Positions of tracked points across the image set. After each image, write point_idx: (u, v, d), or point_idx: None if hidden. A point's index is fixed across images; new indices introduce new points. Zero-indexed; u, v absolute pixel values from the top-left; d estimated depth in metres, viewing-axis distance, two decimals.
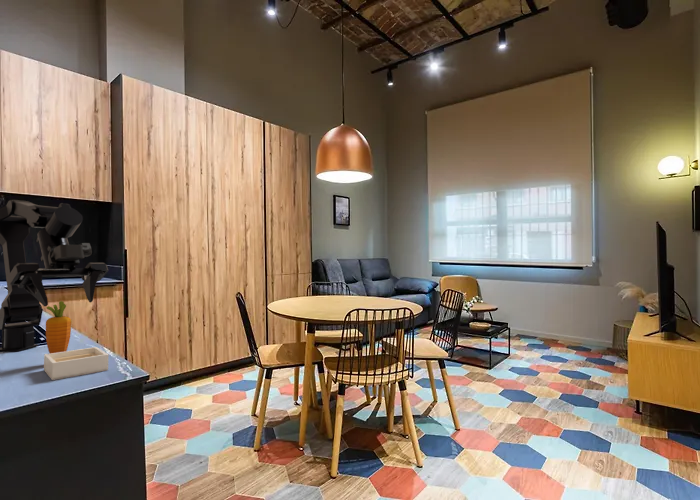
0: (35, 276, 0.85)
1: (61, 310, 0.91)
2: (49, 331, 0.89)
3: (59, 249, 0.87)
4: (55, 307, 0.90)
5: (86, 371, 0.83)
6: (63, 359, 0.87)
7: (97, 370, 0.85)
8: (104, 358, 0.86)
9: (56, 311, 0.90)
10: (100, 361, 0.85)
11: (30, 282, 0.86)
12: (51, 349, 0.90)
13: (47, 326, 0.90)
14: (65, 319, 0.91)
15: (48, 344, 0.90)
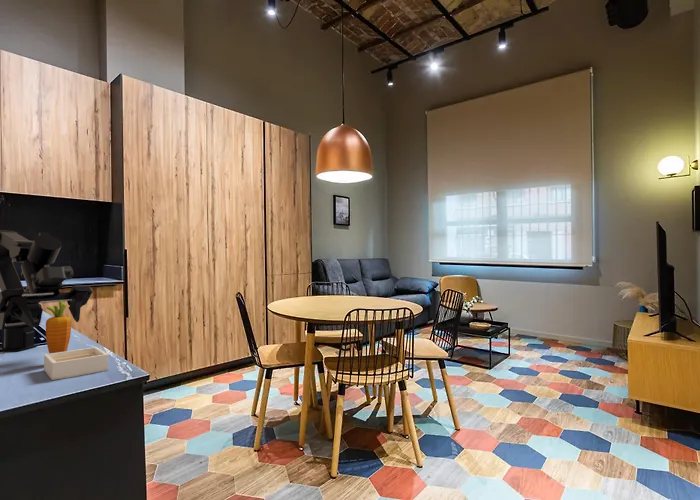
0: (20, 300, 0.89)
1: (61, 310, 0.91)
2: (49, 331, 0.89)
3: (41, 272, 0.92)
4: (55, 307, 0.90)
5: (86, 371, 0.83)
6: (63, 359, 0.87)
7: (97, 370, 0.85)
8: (104, 358, 0.86)
9: (56, 311, 0.90)
10: (100, 361, 0.85)
11: (16, 307, 0.90)
12: (51, 349, 0.90)
13: (47, 326, 0.90)
14: (65, 319, 0.91)
15: (48, 344, 0.90)
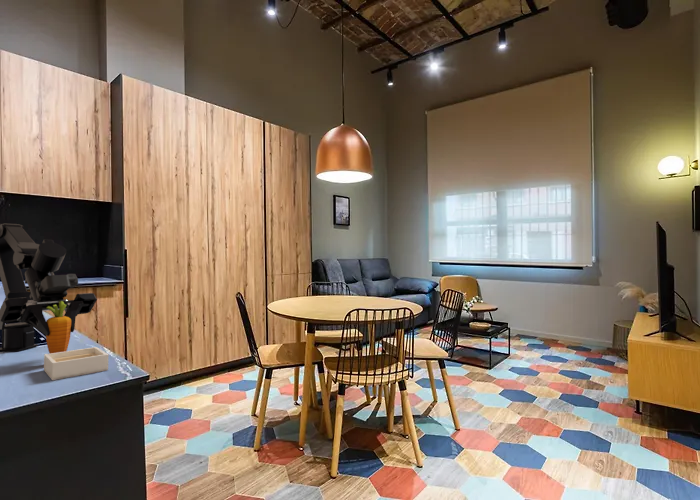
0: (35, 308, 0.89)
1: (61, 310, 0.92)
2: None
3: (45, 281, 0.91)
4: (55, 307, 0.90)
5: (86, 371, 0.83)
6: (63, 359, 0.87)
7: (97, 370, 0.85)
8: (104, 358, 0.86)
9: (56, 311, 0.90)
10: (100, 361, 0.85)
11: (31, 315, 0.90)
12: (51, 349, 0.90)
13: None
14: (65, 319, 0.91)
15: (48, 344, 0.90)
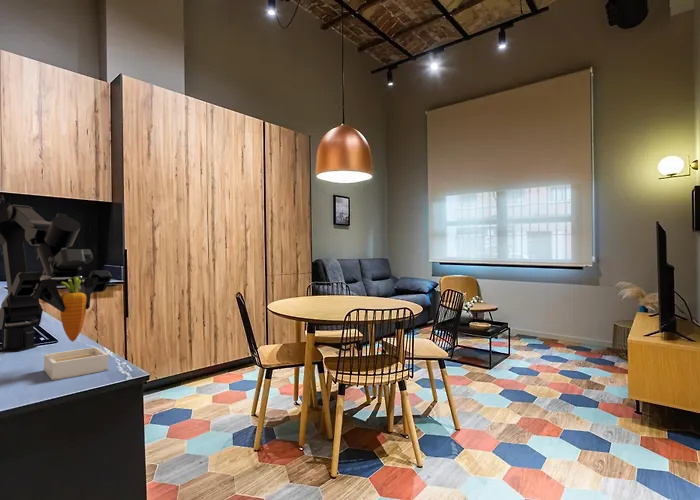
0: (50, 283, 0.85)
1: (76, 286, 0.88)
2: (64, 306, 0.85)
3: (60, 255, 0.87)
4: (70, 282, 0.86)
5: (86, 371, 0.83)
6: (63, 359, 0.87)
7: (97, 370, 0.85)
8: (104, 358, 0.86)
9: (71, 286, 0.87)
10: (100, 361, 0.85)
11: (45, 291, 0.86)
12: (66, 326, 0.86)
13: None
14: (80, 295, 0.87)
15: (63, 321, 0.86)
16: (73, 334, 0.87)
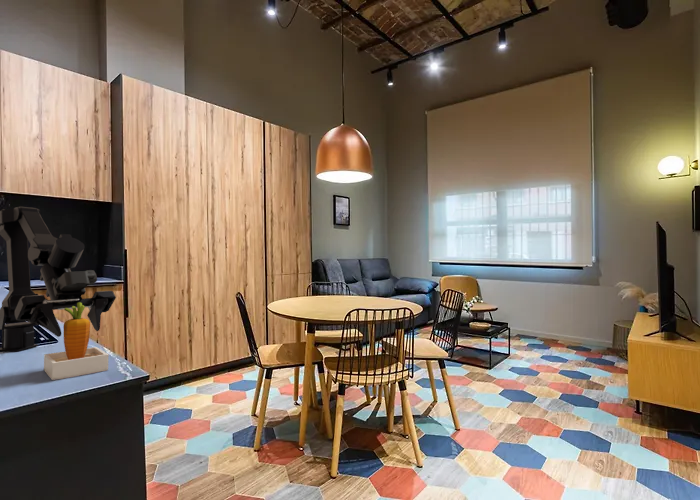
0: (46, 307, 0.83)
1: (80, 312, 0.86)
2: (68, 334, 0.84)
3: (64, 277, 0.85)
4: (74, 309, 0.85)
5: (86, 371, 0.83)
6: (63, 359, 0.87)
7: (97, 370, 0.85)
8: (104, 358, 0.86)
9: (75, 313, 0.85)
10: (100, 361, 0.85)
11: (41, 315, 0.84)
12: (69, 353, 0.85)
13: (65, 329, 0.85)
14: (84, 321, 0.86)
15: (66, 348, 0.85)
16: None
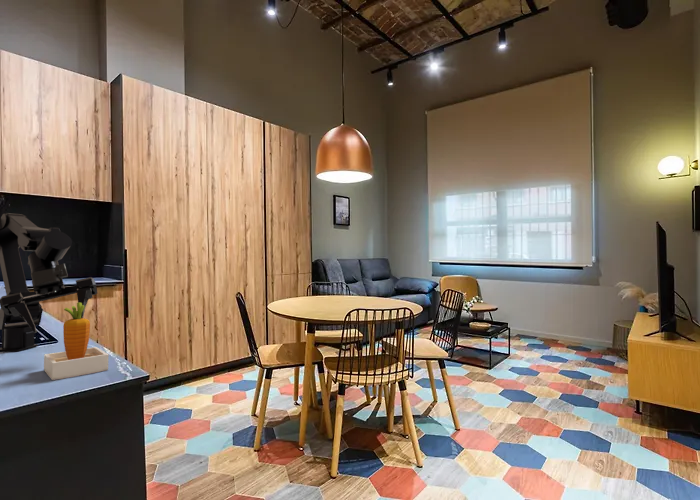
0: (18, 306, 0.88)
1: (80, 312, 0.86)
2: (68, 334, 0.84)
3: None
4: (74, 309, 0.85)
5: (86, 371, 0.83)
6: (63, 359, 0.87)
7: (97, 370, 0.85)
8: (104, 358, 0.86)
9: (75, 313, 0.85)
10: (100, 361, 0.85)
11: None
12: (69, 353, 0.85)
13: (65, 329, 0.85)
14: (84, 321, 0.86)
15: (66, 348, 0.85)
16: None
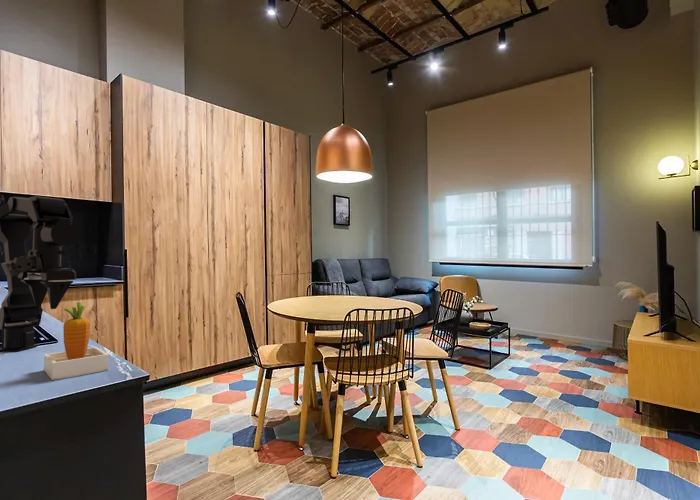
0: (24, 282, 0.97)
1: (80, 312, 0.86)
2: (68, 334, 0.84)
3: None
4: (74, 309, 0.85)
5: (86, 371, 0.83)
6: (63, 359, 0.87)
7: (97, 370, 0.85)
8: (104, 358, 0.86)
9: (75, 313, 0.85)
10: (100, 361, 0.85)
11: None
12: (69, 353, 0.85)
13: (65, 329, 0.85)
14: (84, 321, 0.86)
15: (66, 348, 0.85)
16: None
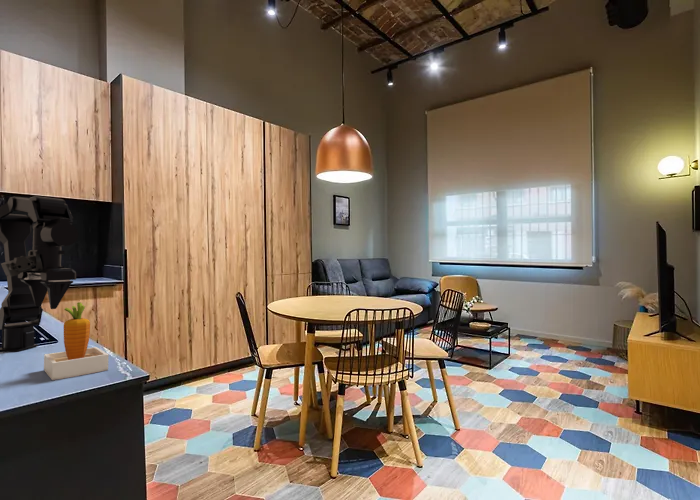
0: (24, 282, 0.97)
1: (80, 312, 0.86)
2: (68, 334, 0.84)
3: None
4: (74, 308, 0.85)
5: (86, 371, 0.83)
6: (63, 359, 0.87)
7: (97, 370, 0.85)
8: (104, 358, 0.86)
9: (75, 313, 0.85)
10: (100, 361, 0.85)
11: None
12: (69, 353, 0.85)
13: (65, 329, 0.85)
14: (84, 321, 0.86)
15: (66, 348, 0.85)
16: None
